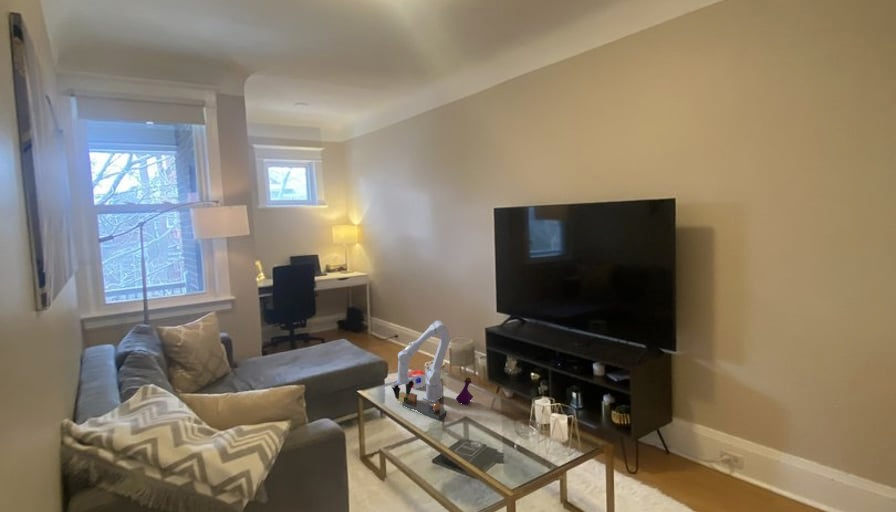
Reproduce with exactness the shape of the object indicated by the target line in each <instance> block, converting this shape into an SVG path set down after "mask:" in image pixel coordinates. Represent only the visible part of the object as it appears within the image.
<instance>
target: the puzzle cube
mask: <svg viewBox="0 0 896 512" xmlns="http://www.w3.org/2000/svg"><path fill="white" fill-rule="evenodd" d="M409 377H413V378H414V381H412V382H414V385H413V386H412V388H411V389H413V390H416V389H420V388H419V387H421V388H423V387H422V386H425V387H426V382H427V380H426V379H427V377H426V373H425V372H424V371H422V370H421V369H416V370H410V371H409V370H408V378H409Z"/></svg>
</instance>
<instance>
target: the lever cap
mask: <svg viewBox="0 0 896 512" xmlns="http://www.w3.org/2000/svg"><path fill="white" fill-rule="evenodd" d="M408 399H409V395H408V394H406V392H404V391H400V392H399V399H396V401H397V402H399V401H400V402H399V403H401V402H402V403H401V404H403V402H405V401H407V400H408Z"/></svg>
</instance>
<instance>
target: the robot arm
mask: <svg viewBox="0 0 896 512" xmlns="http://www.w3.org/2000/svg"><path fill="white" fill-rule="evenodd" d="M431 337H439V338H440V340H439V343H438V345H437V349H436V351H435V355H434V358H433V361H432V364H431V365H430V366H429V368H428V370H427V371H426V373H425V374H426V379H427V380H426V382H425V389H426V390H425V396H426V398H424V397H425V396H423V397H422V399H423V398H424V399H423V400H425V399H426V401H427V402H432V403H437V401H439V400H441V399H440V398H439V397H440V396H443V383H442V382H441V375H442V374H441V373H442V370H441V369H442V366H443V364H444V360H445V357H446V354H447V351H448V348H449V345H450V342H451V336H450V331H449V329H448V327H447V326H446V325H445V324H444V322H443V321H441V320H440V319H437V320H434V322H433V323H431V324H430V325H429V326H428V328H427V329H426V330H425V331H424V332H423V333H422V334H421V335H420V337H418V338H417V339H416V340H415V341H409V342H408V345H407V346H406V347H404V348H403V349H402V350H401V351H399V352H398V353H397V355H396V356H397V359H398V361H397V362H398V363H397V364H398V365H397V380H395V381H394V382H392V383H391V384H390V385H391V389H392V391H393V393H394V398H395V399H396V400H397V399H399V393H401V387H400V386H402V385H405V393H406V394H408V395H409V394H410V393H411V391H412V389H413V388H412V386H413V385H414V382H412V381H414V378H413V377H409V378H408V372H409V363H410V360H411V358H412V357H413V356H414V355H415V354H416V353H418V351H419V350H420V348H421V346H422V345H423V344H424V343H425V342H426V341H427V340H428V339H430V338H431ZM438 398H439V400H438Z"/></svg>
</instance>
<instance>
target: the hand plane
mask: <svg viewBox="0 0 896 512" xmlns="http://www.w3.org/2000/svg"><path fill="white" fill-rule="evenodd" d="M403 406H405V407H407V408H410V409H414V410H417V411H418V412H420V413H422V414H423V415H422V414H421V415H422V416H425V417H427V416H428V418H430V419H433V420H436V421H441V420H442V419H444V418H446V417H447V415H448V414H447V413H448V412H447V410H444V409H441V403H440V402H433V405H431V404H428V403H425V402H422V401H421V400H418V394H415V393H413V392H410V394H409V399H408V400H407V401H405V402H403V403H402V407H403ZM407 408H406V409H407ZM420 413H419V414H420Z"/></svg>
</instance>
